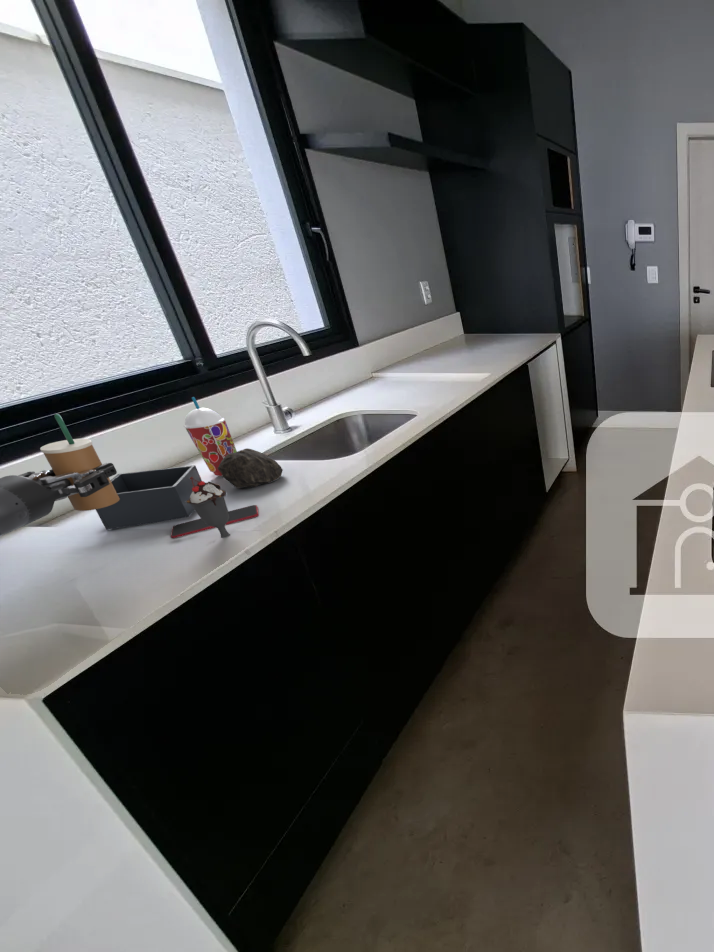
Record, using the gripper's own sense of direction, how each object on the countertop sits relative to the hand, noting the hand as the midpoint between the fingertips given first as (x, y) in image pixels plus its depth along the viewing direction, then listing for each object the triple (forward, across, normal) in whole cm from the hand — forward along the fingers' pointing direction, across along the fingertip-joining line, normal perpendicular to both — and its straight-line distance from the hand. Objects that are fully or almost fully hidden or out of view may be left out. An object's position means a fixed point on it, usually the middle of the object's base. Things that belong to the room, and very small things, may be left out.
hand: (93, 468), depth 102 cm
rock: (+35, -1, +19) cm, 40 cm away
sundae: (+5, -14, +18) cm, 24 cm away
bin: (+21, +12, +19) cm, 31 cm away
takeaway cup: (-2, 0, +6) cm, 6 cm away
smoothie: (+45, +12, +19) cm, 50 cm away
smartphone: (+13, -6, +18) cm, 23 cm away
